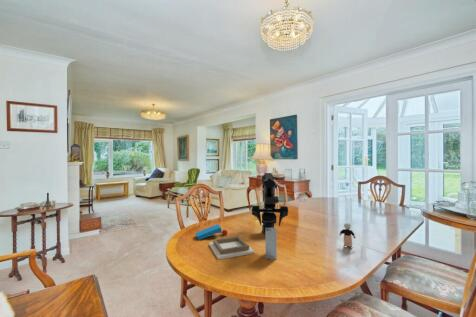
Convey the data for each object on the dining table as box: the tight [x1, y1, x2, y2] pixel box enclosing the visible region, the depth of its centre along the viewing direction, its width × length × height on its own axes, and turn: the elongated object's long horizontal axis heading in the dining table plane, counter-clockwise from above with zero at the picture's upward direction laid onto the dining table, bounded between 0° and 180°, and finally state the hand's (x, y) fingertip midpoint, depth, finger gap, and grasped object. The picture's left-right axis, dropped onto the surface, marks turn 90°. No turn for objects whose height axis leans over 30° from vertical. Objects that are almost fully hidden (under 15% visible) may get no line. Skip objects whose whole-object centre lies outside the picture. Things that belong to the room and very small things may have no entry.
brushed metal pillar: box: [264, 227, 278, 260], centre depth 106 cm, size 5×5×13 cm
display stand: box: [208, 235, 255, 260], centre depth 115 cm, size 18×18×3 cm
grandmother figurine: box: [338, 222, 357, 248], centre depth 117 cm, size 8×4×13 cm, turn 71°
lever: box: [195, 223, 228, 241], centre depth 133 cm, size 7×7×18 cm
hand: (270, 225), depth 112 cm, fingers open, 9 cm apart
